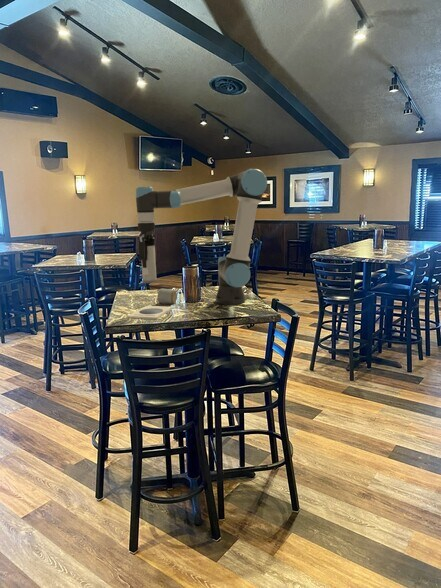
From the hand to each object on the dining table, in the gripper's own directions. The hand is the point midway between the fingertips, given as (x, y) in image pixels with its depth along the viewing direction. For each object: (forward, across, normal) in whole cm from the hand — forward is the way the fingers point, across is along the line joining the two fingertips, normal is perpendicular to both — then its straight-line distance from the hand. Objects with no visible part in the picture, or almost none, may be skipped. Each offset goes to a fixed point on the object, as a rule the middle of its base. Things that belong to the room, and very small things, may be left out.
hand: (148, 273), depth 199 cm
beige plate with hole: (+19, 0, 0) cm, 19 cm away
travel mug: (+4, 0, 0) cm, 4 cm away
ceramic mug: (+19, -21, 0) cm, 28 cm away
